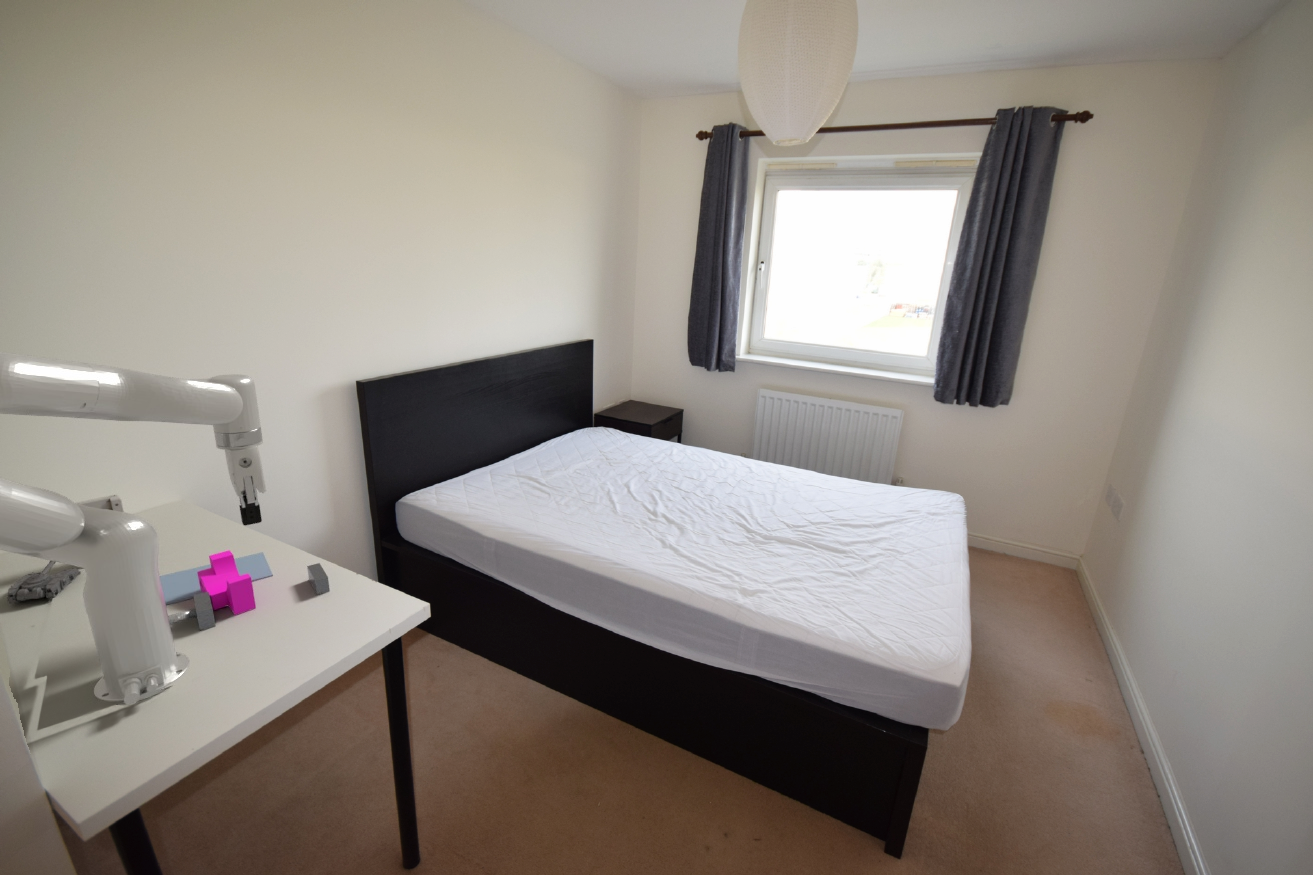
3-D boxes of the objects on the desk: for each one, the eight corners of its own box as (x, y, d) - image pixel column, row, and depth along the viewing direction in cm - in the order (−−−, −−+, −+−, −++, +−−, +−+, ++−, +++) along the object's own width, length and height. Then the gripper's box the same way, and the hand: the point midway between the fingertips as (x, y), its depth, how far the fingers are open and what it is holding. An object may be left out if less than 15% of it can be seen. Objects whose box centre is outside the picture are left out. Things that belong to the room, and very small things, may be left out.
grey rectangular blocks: (330, 592, 127) (328, 577, 126) (163, 641, 109) (159, 622, 108) (321, 578, 133) (319, 562, 132) (162, 621, 114) (158, 604, 113)
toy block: (200, 589, 125) (194, 559, 123) (234, 579, 129) (229, 550, 127) (220, 620, 116) (214, 588, 114) (256, 607, 120) (251, 577, 118)
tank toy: (33, 579, 128) (27, 558, 126) (88, 573, 131) (83, 553, 130) (-1, 608, 117) (-8, 586, 116) (60, 600, 121) (54, 578, 119)
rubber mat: (273, 577, 132) (272, 574, 132) (148, 609, 118) (147, 606, 118) (263, 554, 142) (262, 552, 142) (146, 581, 128) (146, 579, 128)
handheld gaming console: (129, 549, 142) (117, 493, 138) (133, 553, 140) (121, 497, 136) (78, 562, 135) (63, 504, 130) (82, 567, 133) (67, 508, 128)
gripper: (268, 443, 109) (280, 530, 114) (256, 426, 120) (267, 507, 125) (219, 449, 105) (234, 540, 109) (211, 431, 115) (225, 515, 120)
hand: (252, 522), depth 117 cm, fingers closed
